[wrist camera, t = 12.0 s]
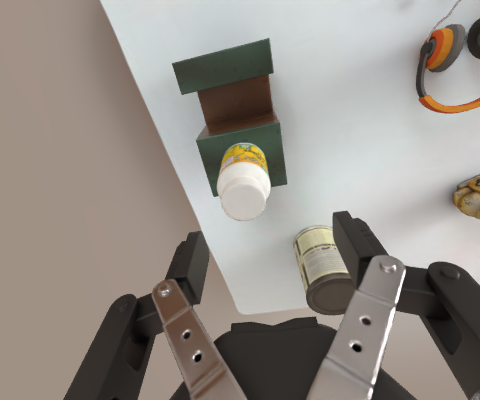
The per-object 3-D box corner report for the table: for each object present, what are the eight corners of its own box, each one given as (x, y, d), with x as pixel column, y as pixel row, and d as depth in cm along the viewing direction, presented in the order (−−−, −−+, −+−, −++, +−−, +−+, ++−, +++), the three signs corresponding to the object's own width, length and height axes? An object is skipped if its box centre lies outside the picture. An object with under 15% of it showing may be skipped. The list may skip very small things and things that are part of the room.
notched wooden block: (196, 63, 34) (171, 63, 23) (262, 46, 33) (269, 38, 22) (222, 161, 42) (213, 197, 31) (276, 151, 41) (287, 184, 30)
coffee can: (348, 244, 52) (379, 300, 39) (309, 265, 55) (326, 322, 43) (323, 216, 48) (349, 268, 36) (284, 241, 52) (294, 295, 40)
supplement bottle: (214, 163, 29) (200, 204, 20) (242, 131, 26) (240, 162, 18) (245, 189, 30) (245, 236, 22) (275, 161, 28) (286, 201, 20)
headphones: (589, -120, 23) (558, 92, 28) (530, -76, 28) (513, 97, 34) (407, -57, 26) (411, 126, 31) (383, -27, 31) (390, 125, 36)
